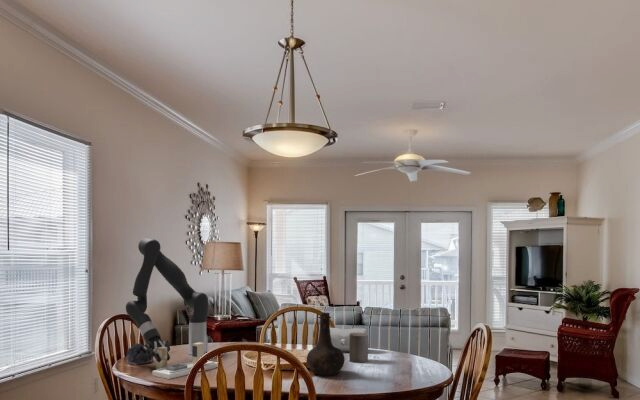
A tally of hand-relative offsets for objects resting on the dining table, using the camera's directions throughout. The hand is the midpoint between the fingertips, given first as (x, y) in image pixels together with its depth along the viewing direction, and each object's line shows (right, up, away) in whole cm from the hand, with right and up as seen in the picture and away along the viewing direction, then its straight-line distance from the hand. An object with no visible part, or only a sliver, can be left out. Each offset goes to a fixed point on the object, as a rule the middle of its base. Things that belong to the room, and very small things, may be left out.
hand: (164, 360), depth 279 cm
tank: (+89, -7, +40) cm, 98 cm away
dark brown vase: (+78, -3, -11) cm, 79 cm away
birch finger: (-2, -4, +1) cm, 5 cm away
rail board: (+12, -4, -5) cm, 13 cm away
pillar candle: (+96, -5, +16) cm, 97 cm away
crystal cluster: (-17, -6, +15) cm, 23 cm away
